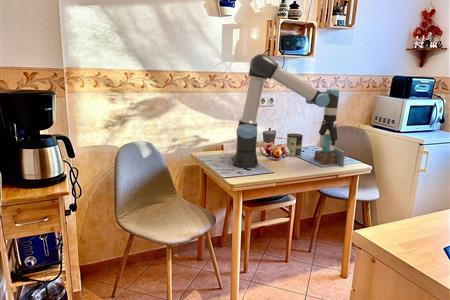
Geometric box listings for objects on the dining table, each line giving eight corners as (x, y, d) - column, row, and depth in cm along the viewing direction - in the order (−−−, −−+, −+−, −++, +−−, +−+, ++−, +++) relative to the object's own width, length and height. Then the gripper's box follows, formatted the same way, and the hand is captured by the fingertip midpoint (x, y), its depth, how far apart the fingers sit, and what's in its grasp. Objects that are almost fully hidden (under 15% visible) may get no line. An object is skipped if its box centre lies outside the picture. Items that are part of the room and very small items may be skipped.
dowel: (323, 160, 209) (326, 135, 205) (320, 158, 213) (322, 134, 209) (330, 160, 210) (332, 135, 206) (326, 158, 214) (329, 134, 210)
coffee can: (299, 153, 230) (301, 133, 227) (302, 157, 220) (304, 136, 217) (284, 152, 231) (286, 132, 227) (286, 156, 220) (288, 136, 217)
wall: (340, 166, 203) (342, 152, 201) (325, 157, 222) (326, 144, 220) (343, 166, 204) (345, 152, 201) (328, 157, 223) (329, 144, 220)
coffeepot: (269, 157, 218) (271, 130, 213) (257, 154, 223) (258, 128, 219) (280, 152, 230) (282, 127, 225) (268, 150, 235) (269, 125, 231)
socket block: (321, 164, 206) (322, 154, 205) (314, 159, 216) (315, 150, 214) (335, 164, 208) (337, 154, 206) (328, 159, 217) (329, 150, 216)
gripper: (346, 117, 193) (341, 152, 198) (326, 111, 217) (323, 143, 222) (334, 117, 192) (330, 152, 197) (315, 111, 216) (312, 143, 221)
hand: (326, 147), depth 210 cm, fingers open, 13 cm apart
